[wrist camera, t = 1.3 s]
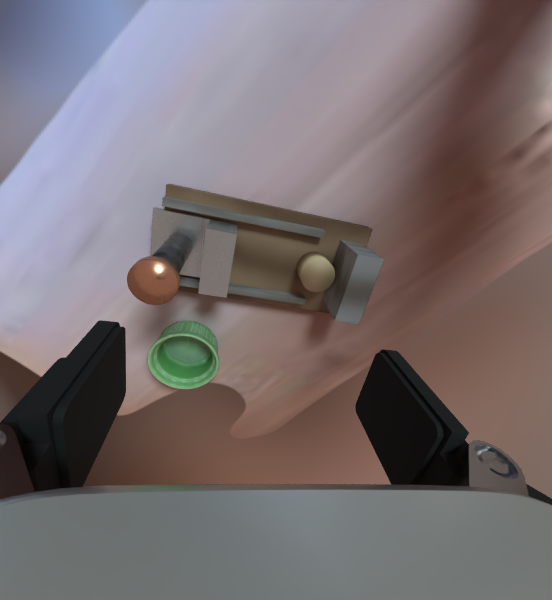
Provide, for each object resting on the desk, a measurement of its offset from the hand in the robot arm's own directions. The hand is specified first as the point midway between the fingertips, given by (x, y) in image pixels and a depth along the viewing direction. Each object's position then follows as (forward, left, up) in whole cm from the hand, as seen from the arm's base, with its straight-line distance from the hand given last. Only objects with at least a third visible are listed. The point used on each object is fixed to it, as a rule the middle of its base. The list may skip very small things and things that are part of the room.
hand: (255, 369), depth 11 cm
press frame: (+3, +4, -27) cm, 27 cm away
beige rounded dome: (+3, +9, -25) cm, 27 cm away
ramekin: (+18, -5, -27) cm, 33 cm away
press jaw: (+3, -5, -25) cm, 26 cm away
